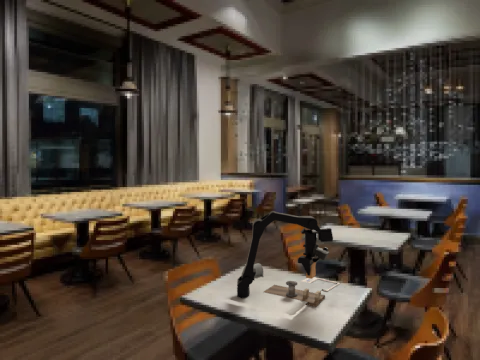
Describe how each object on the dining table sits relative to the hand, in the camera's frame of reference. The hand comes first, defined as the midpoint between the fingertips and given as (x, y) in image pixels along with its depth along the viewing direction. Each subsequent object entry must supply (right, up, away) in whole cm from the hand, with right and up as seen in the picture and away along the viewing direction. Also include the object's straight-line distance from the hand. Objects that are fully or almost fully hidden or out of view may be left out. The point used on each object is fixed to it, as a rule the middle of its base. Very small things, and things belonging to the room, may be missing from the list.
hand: (310, 273), depth 169 cm
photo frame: (+8, -11, +19) cm, 24 cm away
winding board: (-8, -12, +3) cm, 15 cm away
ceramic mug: (-25, -11, +31) cm, 42 cm away
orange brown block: (0, -2, 0) cm, 2 cm away
